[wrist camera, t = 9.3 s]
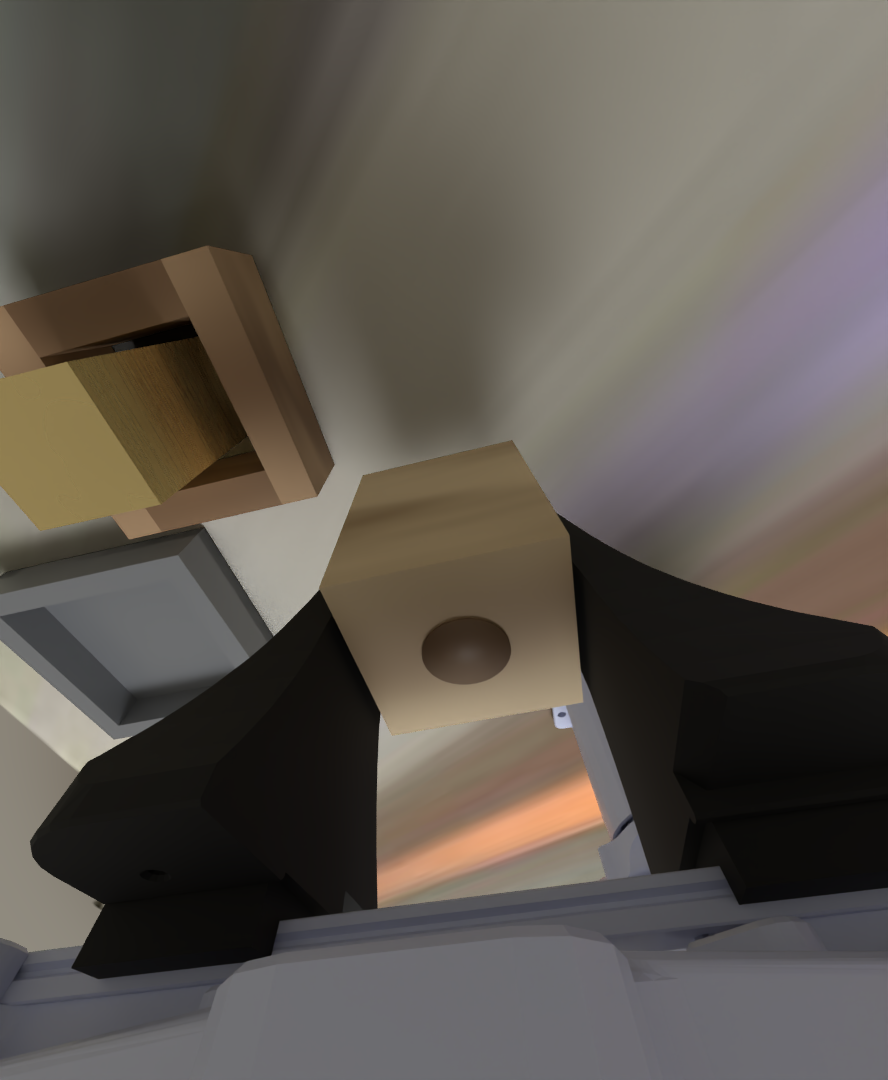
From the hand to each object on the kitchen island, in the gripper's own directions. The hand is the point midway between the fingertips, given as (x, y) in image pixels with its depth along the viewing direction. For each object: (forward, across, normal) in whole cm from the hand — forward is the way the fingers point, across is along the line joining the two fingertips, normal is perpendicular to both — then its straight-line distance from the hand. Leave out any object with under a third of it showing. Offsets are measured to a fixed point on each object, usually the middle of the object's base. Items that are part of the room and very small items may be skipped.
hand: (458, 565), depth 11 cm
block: (+2, 0, 0) cm, 2 cm away
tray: (+7, +16, +5) cm, 18 cm away
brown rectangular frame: (+6, +8, -5) cm, 12 cm away
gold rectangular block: (+6, +8, -5) cm, 12 cm away
